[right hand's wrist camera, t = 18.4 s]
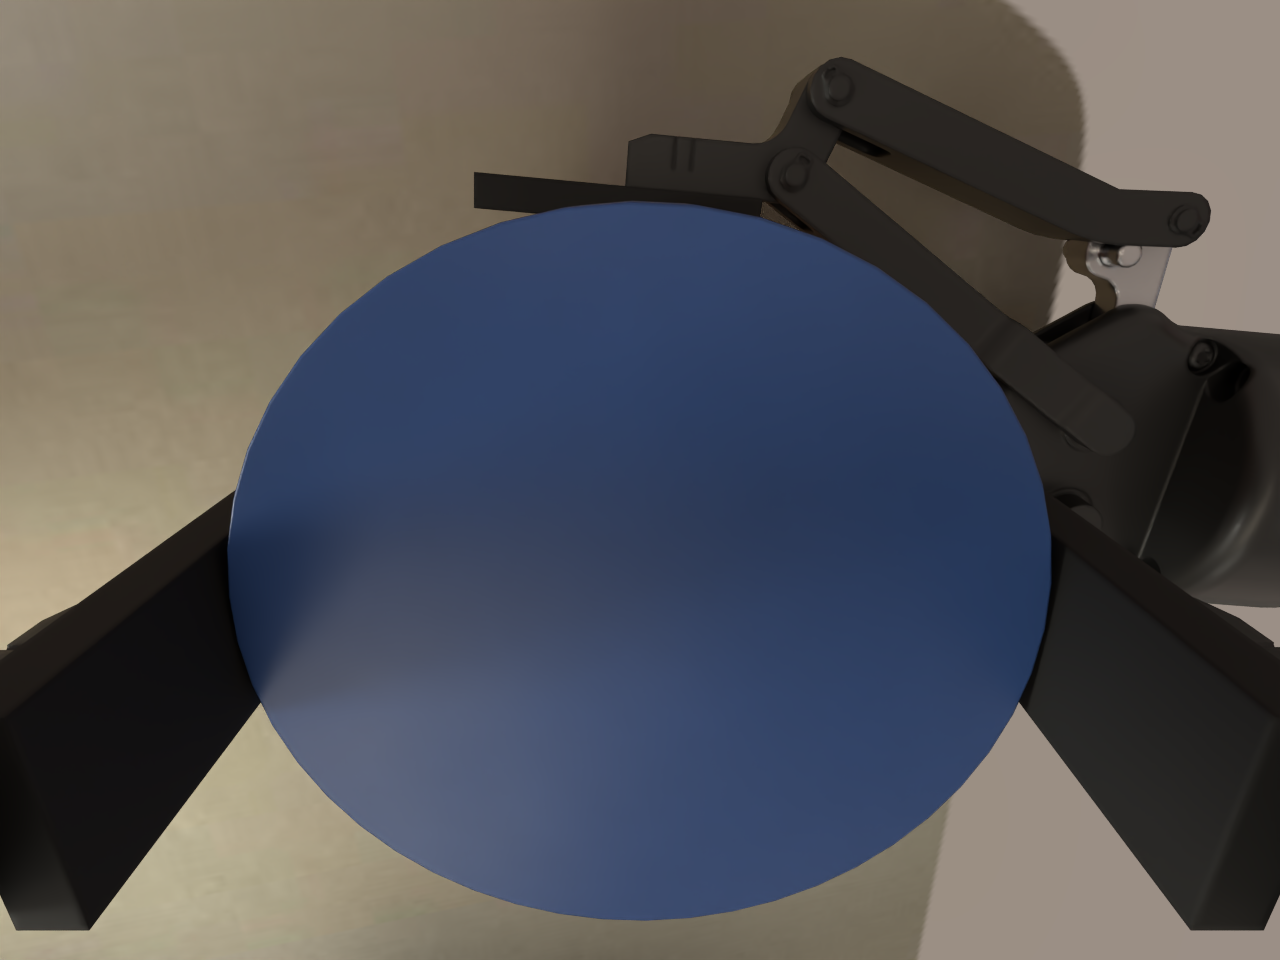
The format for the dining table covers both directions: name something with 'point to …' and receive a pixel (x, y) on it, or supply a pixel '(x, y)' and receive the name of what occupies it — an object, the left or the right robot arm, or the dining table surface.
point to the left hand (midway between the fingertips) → (484, 408)
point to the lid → (639, 561)
